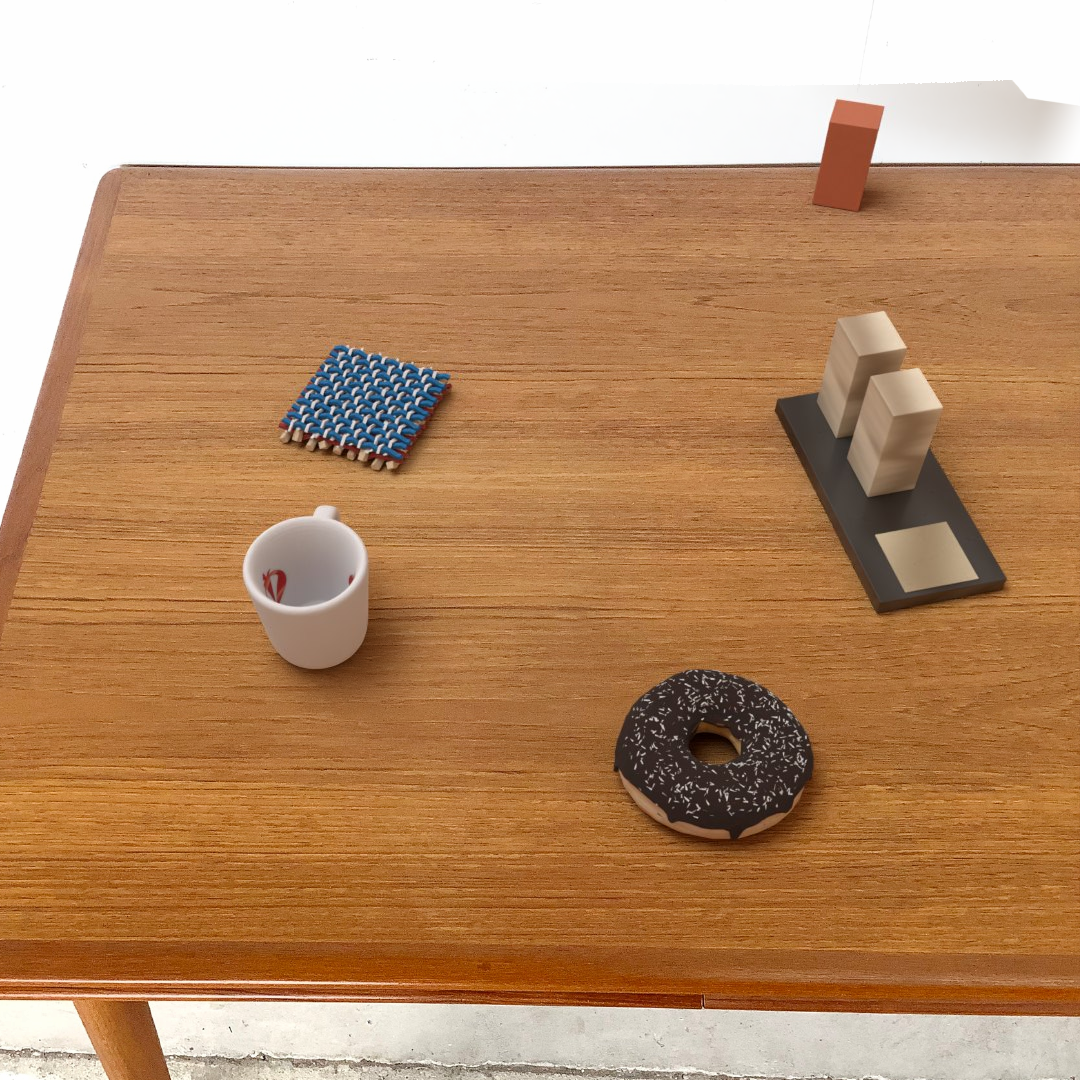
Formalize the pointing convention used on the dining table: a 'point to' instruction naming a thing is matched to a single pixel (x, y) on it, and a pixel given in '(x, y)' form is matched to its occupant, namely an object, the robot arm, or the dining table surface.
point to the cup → (310, 588)
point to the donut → (704, 789)
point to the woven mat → (365, 406)
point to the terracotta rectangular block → (847, 154)
